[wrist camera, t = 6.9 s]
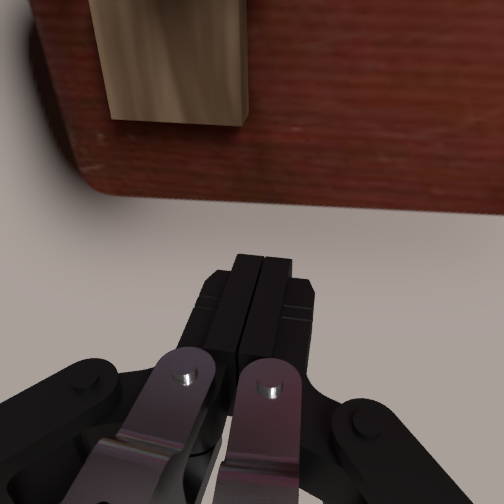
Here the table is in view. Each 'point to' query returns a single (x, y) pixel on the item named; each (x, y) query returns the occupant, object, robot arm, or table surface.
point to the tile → (174, 59)
